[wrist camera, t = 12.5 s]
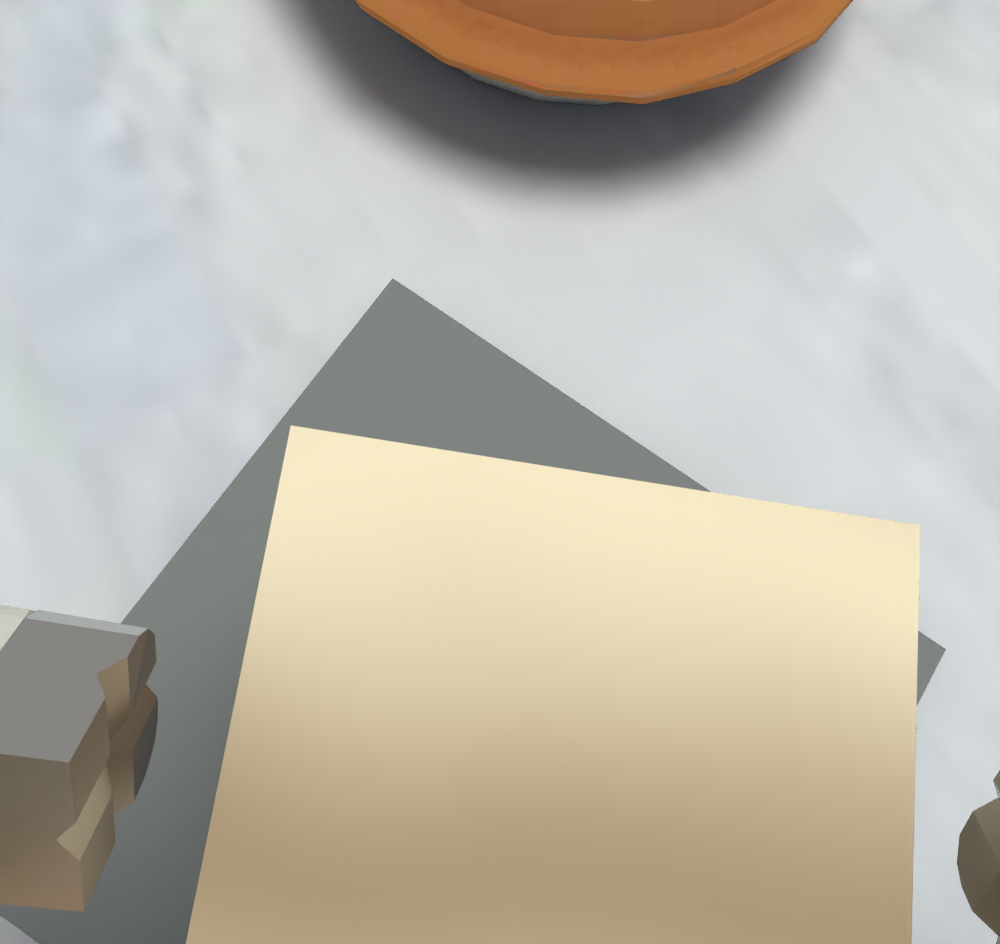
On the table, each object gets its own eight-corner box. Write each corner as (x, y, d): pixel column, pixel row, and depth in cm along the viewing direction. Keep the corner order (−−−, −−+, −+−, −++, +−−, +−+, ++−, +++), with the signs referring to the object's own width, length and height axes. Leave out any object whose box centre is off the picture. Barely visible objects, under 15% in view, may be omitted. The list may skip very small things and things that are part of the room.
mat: (392, 289, 22) (392, 278, 21) (930, 650, 21) (945, 649, 21) (-54, 858, 18) (-69, 864, 17) (582, 1324, 17) (588, 1345, 17)
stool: (351, 573, 20) (291, 425, 9) (645, 617, 20) (920, 525, 9) (293, 897, 18) (137, 1183, 7) (614, 937, 18) (904, 1264, 8)
